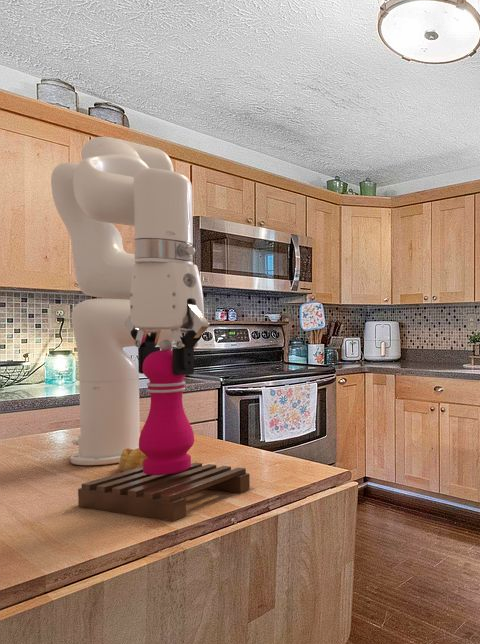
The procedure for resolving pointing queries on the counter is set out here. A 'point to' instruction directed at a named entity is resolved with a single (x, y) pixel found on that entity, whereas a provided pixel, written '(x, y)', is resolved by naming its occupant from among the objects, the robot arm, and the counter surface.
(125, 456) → the pastry
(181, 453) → the pepper mill
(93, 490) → the rack
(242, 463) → the counter surface
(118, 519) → the counter surface
